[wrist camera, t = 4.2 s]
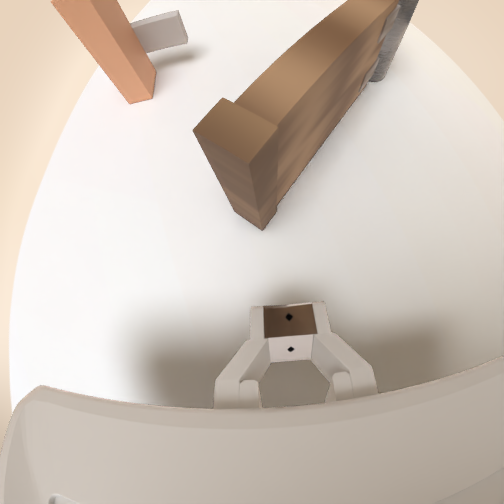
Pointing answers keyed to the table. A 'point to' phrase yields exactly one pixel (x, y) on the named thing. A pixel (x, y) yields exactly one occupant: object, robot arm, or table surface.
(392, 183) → the table surface
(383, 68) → the hinge post
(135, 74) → the latch post
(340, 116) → the gate
